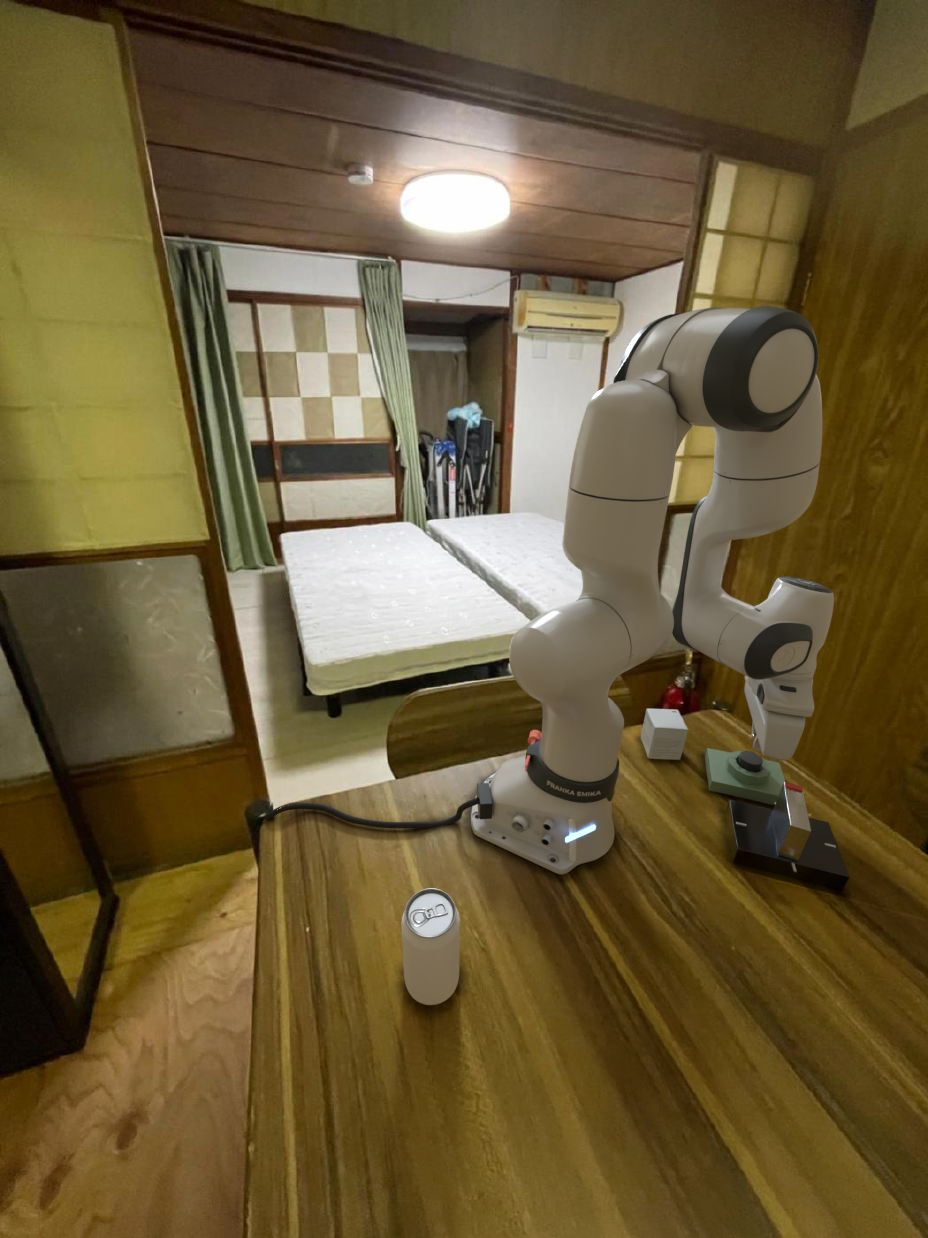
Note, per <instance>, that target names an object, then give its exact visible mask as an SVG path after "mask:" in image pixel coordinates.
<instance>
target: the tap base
mask: <svg viewBox="0 0 928 1238" xmlns="http://www.w3.org/2000/svg"><path fill="white" fill-rule="evenodd" d="M775 804H776V802H775ZM773 809H774V808H768V807H764V806H760V805H755V804H751V803H746V802H742V801H738V800H733V799H728V801H727V805H726V807H725V811H724V816H725V823H726V829H727V836H728V840H729V842H728V843H729V849H730V854H731V860H732V863H733V864H737V865H740V866H744V867H749V868H752V869H756V870H760V871H763V872H767V873H770V874H775V875H779V876H782V877H786V878H790V879H795V880H798V881H801V882H806V883H808V884H809V883H810V884H813V885H816V886H821V887H825V888H828V889H832V890H836V891H840V892H843V891H844V889H845V887H846V885H847V883H848V881H849V880H850V873H849V872H848V869H847V867H846V864H845V862H844V858H843V856H842V853H841V850H840V849H839V846H838V843H837V840H836V837H835V835H834V833H833V830H832V827H831V825H830V822H829V821H825V820H821V819H816V818H812V817H808V818H809V823H810V828H811V833H810V835H809V837H808V840H807V842H806V844H805V846H804V849H803V851H802V853H801V856H800V858H799V860H798V861H796V860H793V859H789V858H786V857H783V856H780V855H778V849H777V841H776V833H775V824H774V816H773Z"/></svg>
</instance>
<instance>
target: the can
mask: <svg viewBox="0 0 928 1238" xmlns="http://www.w3.org/2000/svg"><path fill="white" fill-rule="evenodd" d="M400 927H401V928H400V929H401V947H402V949H401V950H402V963H403V964H402V965H403V977H404V978H403V979H404V984H405V988H406V989H407V992H408V993H409V995H410V996H411V998H412V999H413V1000H415V1001H416V1002H418V1003H420V1004H422V1005H426V1006H435V1005H440V1004H442V1003H444V1002H446V1001H447V1000H448V999H449V998H450V997H451V996H452V995H453V994H454V993H455V992H456V989H457V987H458V984H459V979H460V964H461V963H460V959H461V957H460V956H461V919H460V913H459V910H458V907H457V906H456V903H455V901H454V899H453V898H452V897H451V895H450V894H449V893H447V891H444V890H443V889H439V888H435V887H431V888H424V889H421V890H419V891H418V892H416V893H414V894H413V895H412V896H411V897H410V898H409V899H408V901H407V903H406V905H405V907H404V911H403V914H402V917H401V926H400Z"/></svg>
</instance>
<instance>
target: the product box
mask: <svg viewBox="0 0 928 1238" xmlns="http://www.w3.org/2000/svg"><path fill="white" fill-rule="evenodd" d="M645 709H646V710H645V715H644V718H643V724H642V728H641V733H640V740H641V743H642V745H643V747H644V750H645V754H646V757H647V758H648V759H649V760H651V759H653V760H673V761H680V760H681V758H682V755H683V750H684V747H685V743H686V739H687V736H688V731H689V728H688V726H687V724H686V723H685V720H684V718H683V716H682V714H681V712H680V711H679V709H671V708H670V709H669V708H647V707H646V708H645Z"/></svg>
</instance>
